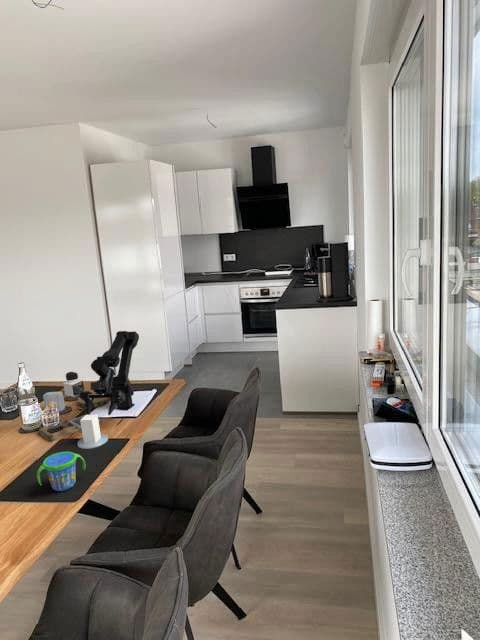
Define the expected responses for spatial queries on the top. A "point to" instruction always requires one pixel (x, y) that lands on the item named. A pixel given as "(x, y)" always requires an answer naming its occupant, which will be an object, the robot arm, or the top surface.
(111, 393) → the robot arm
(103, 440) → the pad
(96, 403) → the brown round slab
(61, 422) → the walnut channel
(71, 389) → the medicine bottle
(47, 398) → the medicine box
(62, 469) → the snack cup
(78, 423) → the trap pit
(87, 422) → the white block
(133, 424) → the top surface
